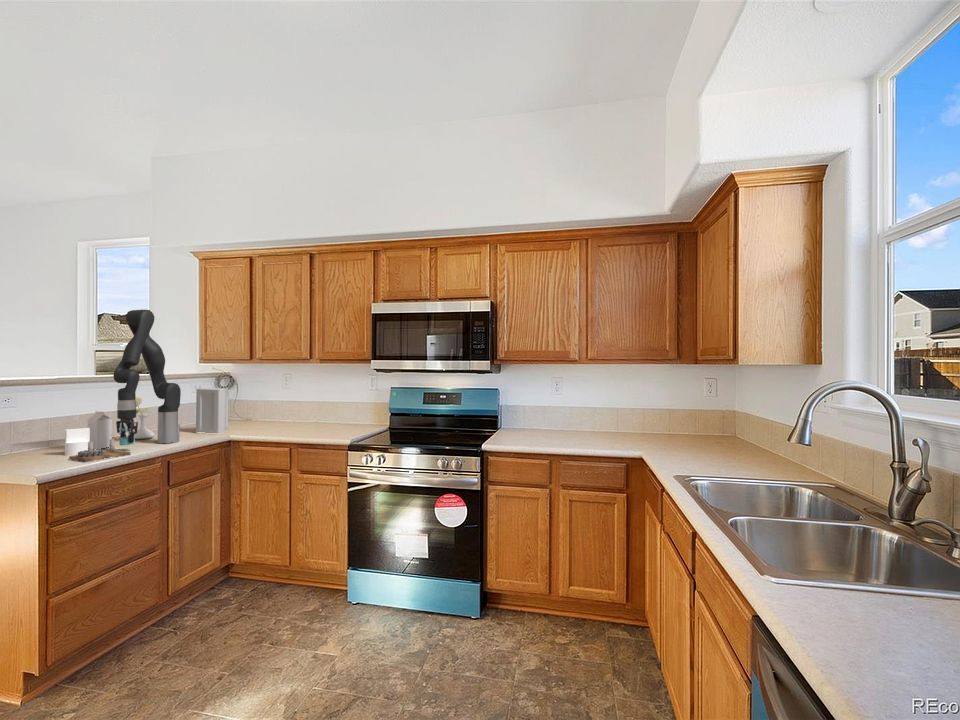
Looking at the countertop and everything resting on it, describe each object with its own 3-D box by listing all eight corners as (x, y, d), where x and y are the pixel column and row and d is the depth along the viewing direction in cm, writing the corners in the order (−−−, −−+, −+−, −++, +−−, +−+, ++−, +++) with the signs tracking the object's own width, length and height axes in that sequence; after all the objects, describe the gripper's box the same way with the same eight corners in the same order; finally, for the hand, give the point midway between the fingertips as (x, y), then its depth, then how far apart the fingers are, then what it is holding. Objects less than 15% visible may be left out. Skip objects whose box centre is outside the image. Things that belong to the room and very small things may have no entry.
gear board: (114, 452, 221) (114, 436, 221) (130, 454, 216) (130, 438, 216) (69, 459, 205) (69, 442, 205) (85, 462, 199) (85, 444, 199)
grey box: (238, 431, 293) (238, 388, 293) (218, 434, 279) (219, 389, 279) (215, 430, 299) (216, 387, 299) (195, 433, 284) (195, 389, 285)
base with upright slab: (87, 451, 225) (87, 427, 225) (91, 453, 219) (91, 428, 219) (63, 453, 218) (63, 429, 218) (66, 456, 212) (66, 430, 212)
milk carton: (95, 450, 227) (96, 412, 227) (86, 449, 230) (87, 412, 230) (111, 447, 234) (112, 411, 234) (102, 446, 236) (103, 410, 237)
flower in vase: (149, 436, 270) (149, 395, 271) (158, 438, 265) (159, 395, 265) (123, 439, 259) (124, 396, 259) (133, 441, 253) (133, 397, 254)
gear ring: (130, 442, 230) (130, 435, 230) (137, 443, 228) (137, 436, 228) (116, 444, 225) (116, 437, 225) (124, 445, 222) (124, 438, 222)
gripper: (143, 408, 227) (144, 441, 227) (126, 407, 232) (126, 439, 233) (127, 410, 220) (127, 444, 220) (109, 408, 226) (110, 442, 226)
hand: (127, 441), depth 226 cm, fingers closed on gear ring, 6 cm apart
